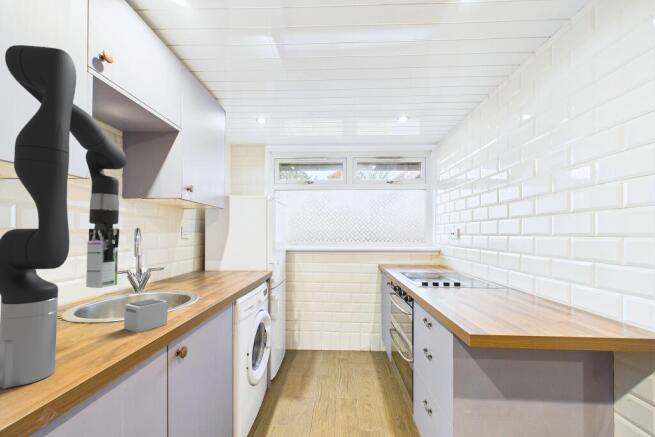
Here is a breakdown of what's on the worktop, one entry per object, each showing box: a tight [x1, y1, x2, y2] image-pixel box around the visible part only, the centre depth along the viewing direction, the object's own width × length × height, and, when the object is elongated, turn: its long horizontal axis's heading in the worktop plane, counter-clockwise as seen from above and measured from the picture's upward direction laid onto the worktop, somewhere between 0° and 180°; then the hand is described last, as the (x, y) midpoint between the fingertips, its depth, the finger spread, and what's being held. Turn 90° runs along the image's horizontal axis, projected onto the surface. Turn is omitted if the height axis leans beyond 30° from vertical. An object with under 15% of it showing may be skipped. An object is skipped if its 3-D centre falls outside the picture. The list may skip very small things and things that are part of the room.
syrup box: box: [85, 240, 119, 289], centre depth 96 cm, size 6×6×14 cm
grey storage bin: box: [123, 298, 168, 334], centre depth 104 cm, size 10×8×8 cm
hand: (102, 261), depth 97 cm, fingers closed on syrup box, 6 cm apart
